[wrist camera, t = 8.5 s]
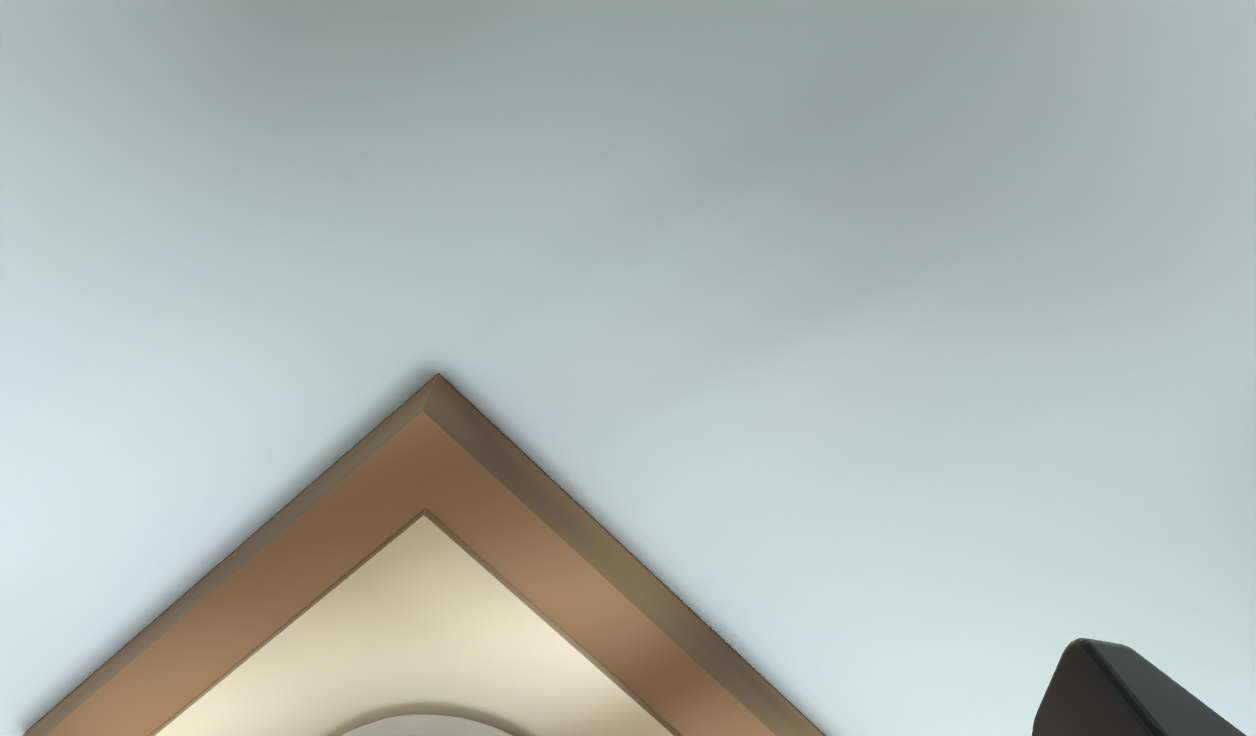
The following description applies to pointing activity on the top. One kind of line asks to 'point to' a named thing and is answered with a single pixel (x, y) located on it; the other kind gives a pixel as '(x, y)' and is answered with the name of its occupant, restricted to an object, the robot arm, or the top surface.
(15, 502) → the top surface
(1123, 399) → the top surface
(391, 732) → the supplement bottle
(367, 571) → the brown square tray
